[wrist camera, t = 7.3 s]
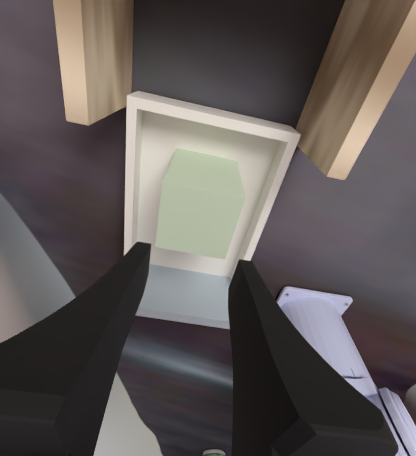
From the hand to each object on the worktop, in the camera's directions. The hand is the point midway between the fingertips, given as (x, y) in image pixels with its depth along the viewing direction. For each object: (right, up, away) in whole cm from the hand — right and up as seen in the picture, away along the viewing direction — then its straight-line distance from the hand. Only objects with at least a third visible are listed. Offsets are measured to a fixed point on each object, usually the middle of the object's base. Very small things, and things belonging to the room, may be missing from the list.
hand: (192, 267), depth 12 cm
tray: (0, +4, +10) cm, 11 cm away
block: (0, +5, +8) cm, 9 cm away
